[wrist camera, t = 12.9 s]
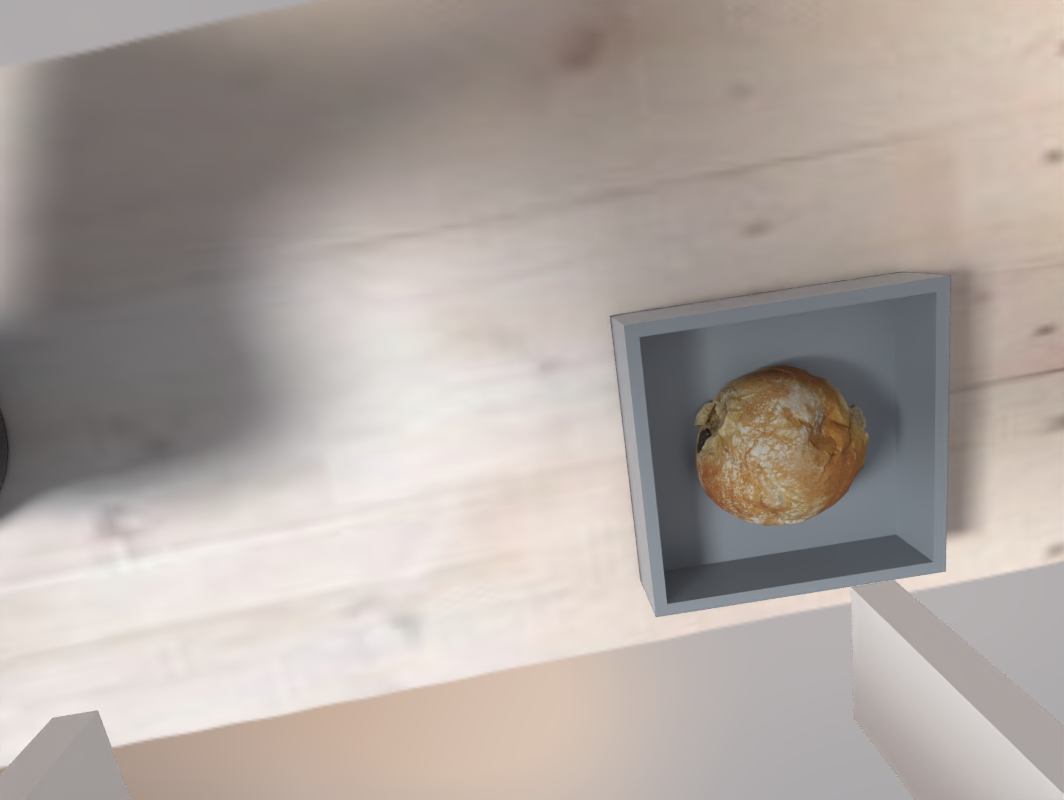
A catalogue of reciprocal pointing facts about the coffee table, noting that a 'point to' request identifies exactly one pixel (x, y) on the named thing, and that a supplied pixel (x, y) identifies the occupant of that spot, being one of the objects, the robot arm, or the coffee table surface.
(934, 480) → the grey tray
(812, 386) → the bread roll
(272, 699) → the coffee table surface
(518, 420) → the coffee table surface
